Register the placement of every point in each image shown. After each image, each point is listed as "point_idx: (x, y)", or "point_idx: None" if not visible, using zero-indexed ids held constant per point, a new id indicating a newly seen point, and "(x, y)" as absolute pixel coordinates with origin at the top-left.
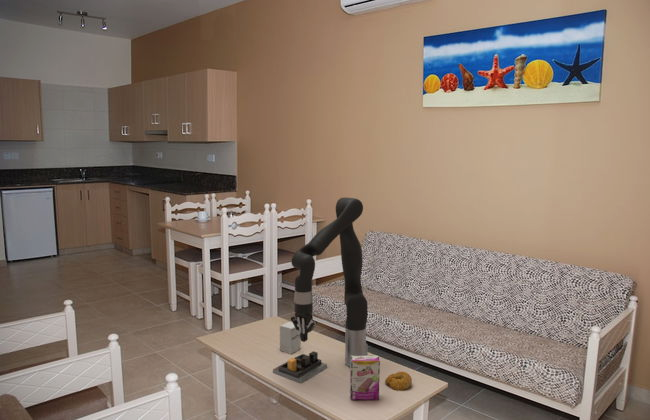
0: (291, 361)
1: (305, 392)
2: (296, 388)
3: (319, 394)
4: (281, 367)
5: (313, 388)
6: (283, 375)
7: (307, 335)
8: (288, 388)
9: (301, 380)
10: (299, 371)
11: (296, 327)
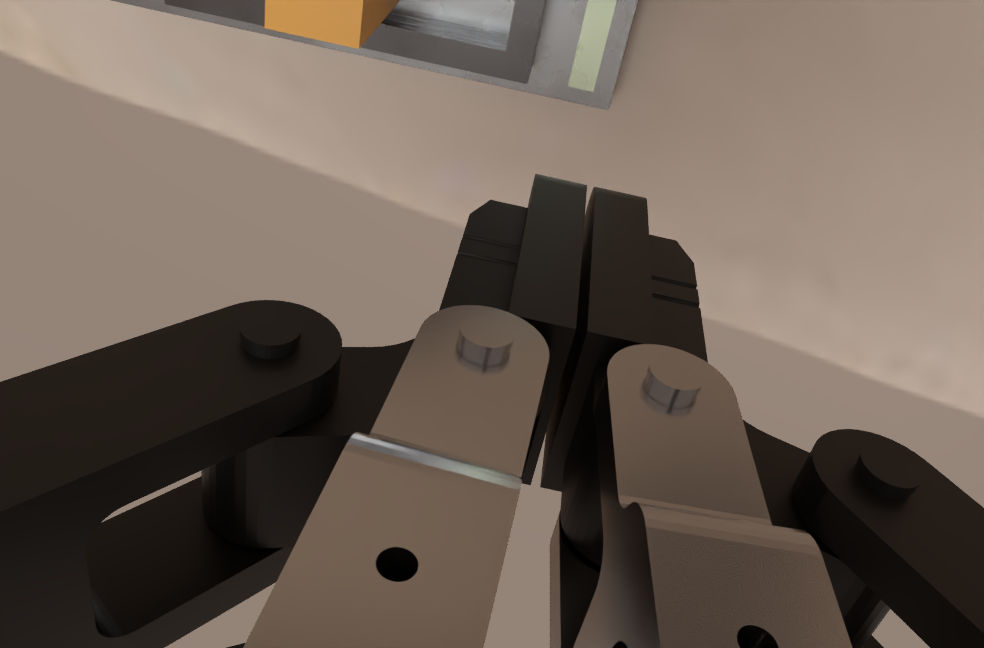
0: (343, 33)
1: (743, 258)
2: None
3: (918, 241)
4: (213, 3)
5: (806, 147)
6: None
7: (699, 332)
8: None
9: (609, 100)
10: (517, 7)
11: (210, 562)
